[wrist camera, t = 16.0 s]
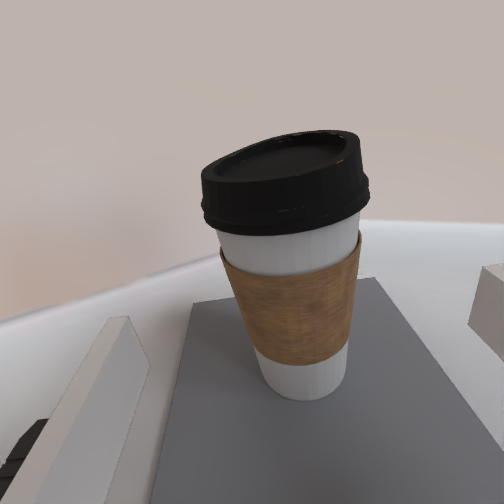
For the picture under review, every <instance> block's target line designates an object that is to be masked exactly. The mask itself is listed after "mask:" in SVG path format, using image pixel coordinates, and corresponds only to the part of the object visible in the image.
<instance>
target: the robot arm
mask: <svg viewBox="0 0 504 504" xmlns="http://www.w3.org/2000/svg"><path fill="white" fill-rule="evenodd" d="M468 325H469V326H470V327H471V328H472V329H473V330H474V331H475V332H476V333H477V335H478V336H479V337H480V338H481V339H482V340H483V341H484V342H485V343H486V344H487V345H488V346H489V347H490V348H491V349H492V350H493V351H494V352H495V353H496V354H497V355H498V356H499V357H500V358H501V359H502V360H503V361H504V264H497V265H490V266H482V270H481V274H480V278H479V282H478V286H477V290H476V294H475V298H474V302H473V306H472V310H471V314H470V318H469V322H468ZM149 369H150V364H149V361H148V359H147V357H146V355H145V352H144V350H143V348H142V346H141V343H140V341H139V339H138V336H137V334H136V332H135V330H134V327H133V325H132V323H131V320H130V318H129V316H121V317H113V318H108V320H107V322H106V323H105V325H104V327H103V329H102V330H101V332H100V334H99V335H98V337H97V339H96V340H95V342H94V344H93V345H92V347H91V349H90V351H89V352H88V354H87V356H86V357H85V359H84V361H83V362H82V364H81V366H80V367H79V369H78V371H77V373H76V374H75V376H74V378H73V379H72V381H71V383H70V384H69V386H68V388H67V389H66V391H65V393H64V395H63V396H62V398H61V400H60V401H59V403H58V405H57V406H56V408H55V410H54V411H53V413H52V415H51V417H50V418H48V419H40V420H37V421H36V422H35V423H34V424H33V425H32V426H31V428H30V429H29V430H28V431H27V432H26V433H25V434H24V435H23V436H22V437H21V438H20V439H19V440H18V442H17V444H16V445H15V447H14V448H13V450H12V451H11V453H10V454H9V456H8V458H7V459H6V463H5V464H3V465H2V467H1V469H0V504H105V501H106V498H107V495H108V492H109V489H110V486H111V483H112V480H113V477H114V474H115V471H116V468H117V465H118V462H119V459H120V456H121V453H122V450H123V447H124V444H125V441H126V438H127V435H128V432H129V429H130V426H131V423H132V420H133V417H134V414H135V411H136V408H137V405H138V402H139V399H140V396H141V393H142V390H143V387H144V384H145V381H146V378H147V375H148V372H149Z"/></svg>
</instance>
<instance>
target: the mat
mask: <svg viewBox="0 0 504 504" xmlns="http://www.w3.org/2000/svg"><path fill="white" fill-rule="evenodd" d="M150 504H504V452H503V451H502V449H501V448H500V447H499V445H498V444H497V443H496V441H495V440H494V439H493V437H492V436H491V434H490V433H489V432H488V430H487V429H486V428H485V426H484V425H483V424H482V422H481V421H480V420H479V418H478V417H477V415H476V414H475V413H474V411H473V410H472V409H471V407H470V406H469V405H468V403H467V402H466V401H465V399H464V398H463V396H462V395H461V394H460V392H459V391H458V390H457V388H456V387H455V386H454V384H453V383H452V382H451V380H450V379H449V378H448V376H447V375H446V373H445V372H444V371H443V369H442V368H441V367H440V365H439V364H438V363H437V361H436V360H435V359H434V357H433V356H432V354H431V353H430V352H429V350H428V349H427V348H426V346H425V345H424V344H423V342H422V341H421V340H420V338H419V337H418V335H417V334H416V333H415V331H414V330H413V329H412V327H411V326H410V325H409V323H408V322H407V321H406V319H405V318H404V317H403V315H402V314H401V312H400V311H399V310H398V308H397V307H396V306H395V304H394V303H393V302H392V300H391V299H390V298H389V296H388V295H387V293H386V292H385V291H384V289H383V288H382V287H381V285H380V284H379V283H378V281H377V280H376V279H375V277H373V278H366V279H359V280H356V288H355V296H354V304H353V312H352V320H351V327H350V334H349V338H348V350H347V361H346V370H345V374H344V378H343V380H342V381H341V383H340V385H339V386H338V387H337V388H336V389H335V390H334V391H333V392H331V393H330V394H328V395H327V396H325V397H322V398H320V399H316V400H311V401H298V400H292V399H289V398H286V397H283V396H281V395H280V394H278V393H276V392H275V391H274V390H273V389H272V388H271V387H270V386H269V385H268V384H267V382H266V381H265V379H264V376H263V374H262V371H261V368H260V365H259V362H258V359H257V356H256V353H255V350H254V346H253V344H252V342H251V339H250V337H249V334H248V331H247V328H246V325H245V323H244V320H243V317H242V314H241V312H240V309H239V306H238V303H237V300H236V298H235V297H234V298H227V299H220V300H213V301H206V302H199V303H193V307H192V312H191V316H190V321H189V325H188V330H187V335H186V339H185V344H184V348H183V353H182V358H181V362H180V367H179V371H178V376H177V380H176V385H175V390H174V394H173V399H172V403H171V408H170V413H169V417H168V422H167V426H166V431H165V435H164V440H163V445H162V449H161V454H160V458H159V463H158V468H157V472H156V477H155V481H154V486H153V491H152V495H151V500H150Z"/></svg>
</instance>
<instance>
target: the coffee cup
mask: <svg viewBox="0 0 504 504" xmlns="http://www.w3.org/2000/svg"><path fill="white" fill-rule="evenodd" d="M201 180H202V193H203V198H202V202H201V207H202V209H203V211H204V219H205V221H206V223H207V224H208V225H210V226H211V227H212V228H214V229H216V232H217V235H218V238H219V241H220V244H221V247H220V256H221V259H222V262H223V264H224V267H225V270H226V273H227V276H228V278H229V281H230V284H231V287H232V289H233V292H234V295H235V298H236V300H237V303H238V306H239V309H240V312H241V314H242V317H243V320H244V323H245V325H246V328H247V331H248V334H249V337H250V339H251V342H252V344H253V346H254V350H255V353H256V356H257V359H258V362H259V365H260V368H261V371H262V374H263V376H264V379H265V381H266V382H267V384H268V385H269V386H270V387H271V388H272V389H273V390H274V391H275V392H276V393H278V394H280V395H281V396H283V397H286V398H289V399H292V400H298V401H311V400H316V399H320V398H322V397H325V396H327V395H328V394H330V393H331V392H333V391H334V390H335V389H336V388H337V387H338V386H339V385H340V383H341V381H342V380H343V378H344V374H345V370H346V361H347V350H348V338H349V334H350V327H351V320H352V312H353V304H354V296H355V288H356V280H357V273H358V265H359V257H360V249H361V233H360V231H359V217H360V210H361V209H362V208H364V207H365V206H366V205H367V203H368V201H369V199H370V192H369V188H368V187H369V180H368V177H367V176H366V174H364V172H363V165H362V157H361V148H360V139H359V137H358V136H357V135H356V134H354V133H351V132H347V131H339V130H317V131H307V132H299V133H292V134H286V135H281V136H277V137H273V138H270V139H267V140H263V141H260V142H258V143H255V144H252V145H249V146H247V147H245V148H242V149H240V150H237V151H235V152H233V153H231V154H229V155H227V156H224V157H222V158H220V159H218V160H216V161H214V162H213V163H211V164H209V165H208V166H206V167H205V168H204V169H203V170H202V173H201Z"/></svg>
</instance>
